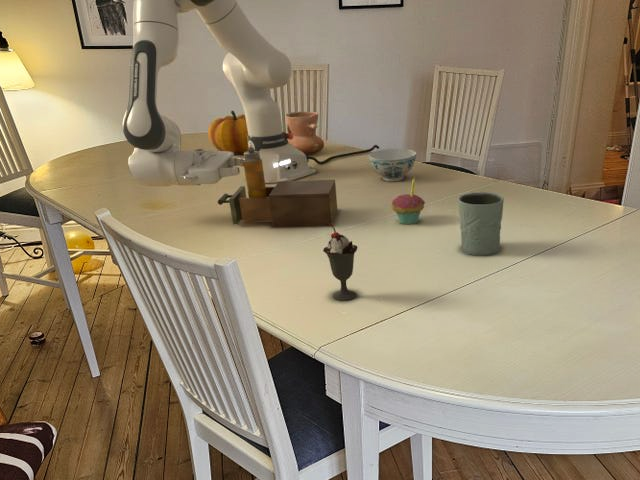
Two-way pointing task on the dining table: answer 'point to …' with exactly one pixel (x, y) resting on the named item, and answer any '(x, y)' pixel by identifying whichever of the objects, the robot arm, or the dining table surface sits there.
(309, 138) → the ceramic jug
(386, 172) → the chinaware
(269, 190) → the drawer
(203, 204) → the dining table surface
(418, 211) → the cupcake
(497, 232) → the green embossed cup
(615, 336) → the dining table surface
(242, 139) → the decorative pumpkin
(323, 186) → the cabinet
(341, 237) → the sundae
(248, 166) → the pepper mill
